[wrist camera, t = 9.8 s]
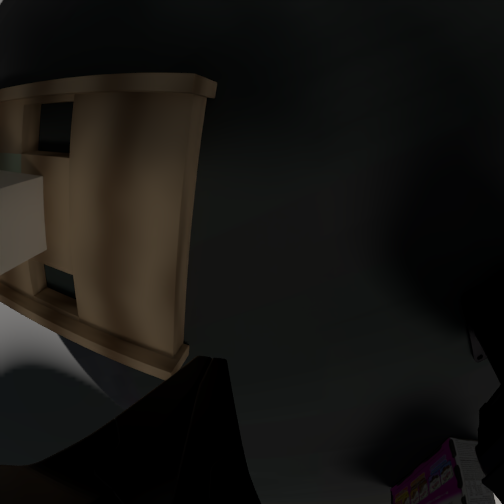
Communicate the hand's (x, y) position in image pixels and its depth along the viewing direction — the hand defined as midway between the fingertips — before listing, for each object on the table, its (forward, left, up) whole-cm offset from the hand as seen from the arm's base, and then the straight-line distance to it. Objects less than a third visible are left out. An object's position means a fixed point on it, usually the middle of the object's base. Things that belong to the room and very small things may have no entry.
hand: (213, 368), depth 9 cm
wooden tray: (+10, +14, -12) cm, 21 cm away
